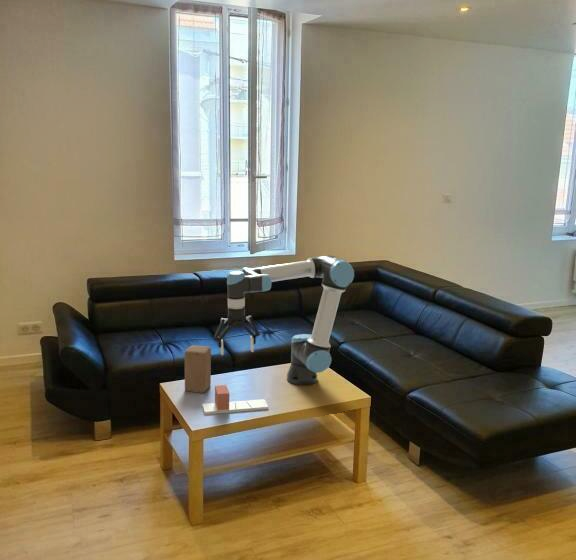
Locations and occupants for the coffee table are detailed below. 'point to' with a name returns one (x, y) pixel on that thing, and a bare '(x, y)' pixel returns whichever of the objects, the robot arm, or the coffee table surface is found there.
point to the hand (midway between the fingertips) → (237, 352)
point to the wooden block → (197, 368)
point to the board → (237, 406)
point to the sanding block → (222, 398)
